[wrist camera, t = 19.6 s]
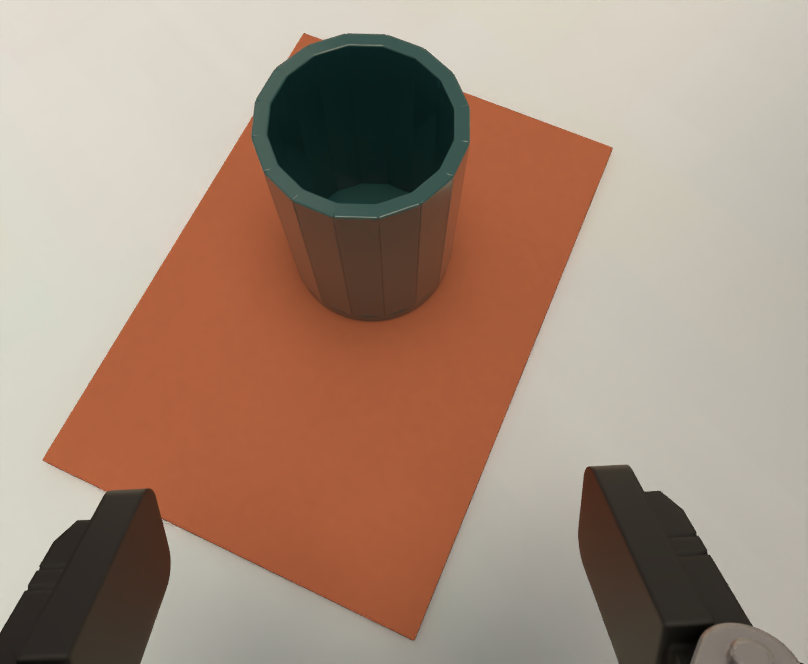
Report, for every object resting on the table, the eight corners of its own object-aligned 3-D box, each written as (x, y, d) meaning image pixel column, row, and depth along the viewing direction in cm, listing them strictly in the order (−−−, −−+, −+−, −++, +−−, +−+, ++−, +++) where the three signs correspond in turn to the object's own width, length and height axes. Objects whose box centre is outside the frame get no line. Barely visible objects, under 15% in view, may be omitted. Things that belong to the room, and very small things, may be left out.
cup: (336, 160, 27) (312, 6, 20) (473, 214, 26) (502, 76, 19) (268, 285, 25) (212, 168, 18) (411, 346, 25) (417, 252, 17)
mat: (304, 37, 30) (303, 32, 29) (610, 151, 28) (613, 147, 27) (46, 461, 24) (41, 460, 23) (413, 640, 22) (414, 640, 22)
